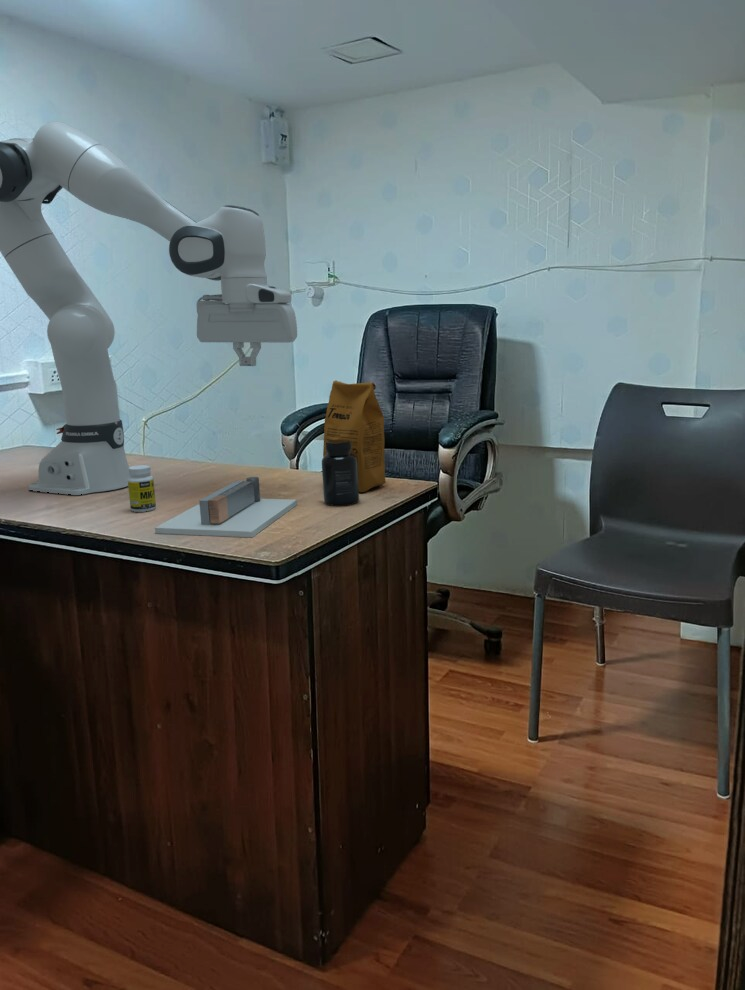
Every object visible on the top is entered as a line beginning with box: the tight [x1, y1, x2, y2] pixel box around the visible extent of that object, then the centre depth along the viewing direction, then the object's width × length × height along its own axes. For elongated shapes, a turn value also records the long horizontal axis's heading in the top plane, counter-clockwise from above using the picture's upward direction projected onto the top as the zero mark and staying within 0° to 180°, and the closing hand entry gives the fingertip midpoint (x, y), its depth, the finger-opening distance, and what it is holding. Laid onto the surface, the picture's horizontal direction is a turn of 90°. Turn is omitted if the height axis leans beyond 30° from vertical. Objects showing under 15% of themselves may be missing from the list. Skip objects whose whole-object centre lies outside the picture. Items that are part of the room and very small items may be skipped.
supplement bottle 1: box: [127, 464, 157, 513], centre depth 154 cm, size 5×5×8 cm
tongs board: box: [154, 476, 298, 538], centre depth 146 cm, size 18×22×6 cm
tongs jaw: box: [209, 480, 255, 524], centre depth 145 cm, size 2×16×4 cm, turn 165°
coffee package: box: [322, 380, 386, 493], centre depth 165 cm, size 10×12×22 cm
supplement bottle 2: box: [321, 439, 360, 507], centre depth 154 cm, size 7×7×12 cm
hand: (248, 365), depth 159 cm, fingers closed
